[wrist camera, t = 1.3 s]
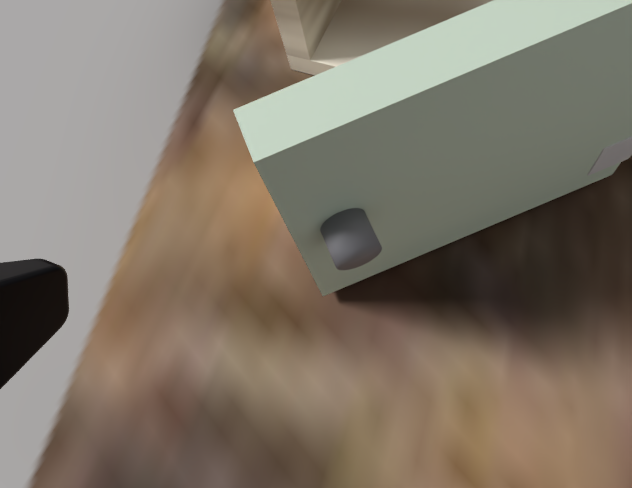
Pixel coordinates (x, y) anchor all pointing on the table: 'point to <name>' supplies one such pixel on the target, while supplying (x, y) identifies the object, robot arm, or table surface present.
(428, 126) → the door
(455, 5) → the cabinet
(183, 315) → the table surface
